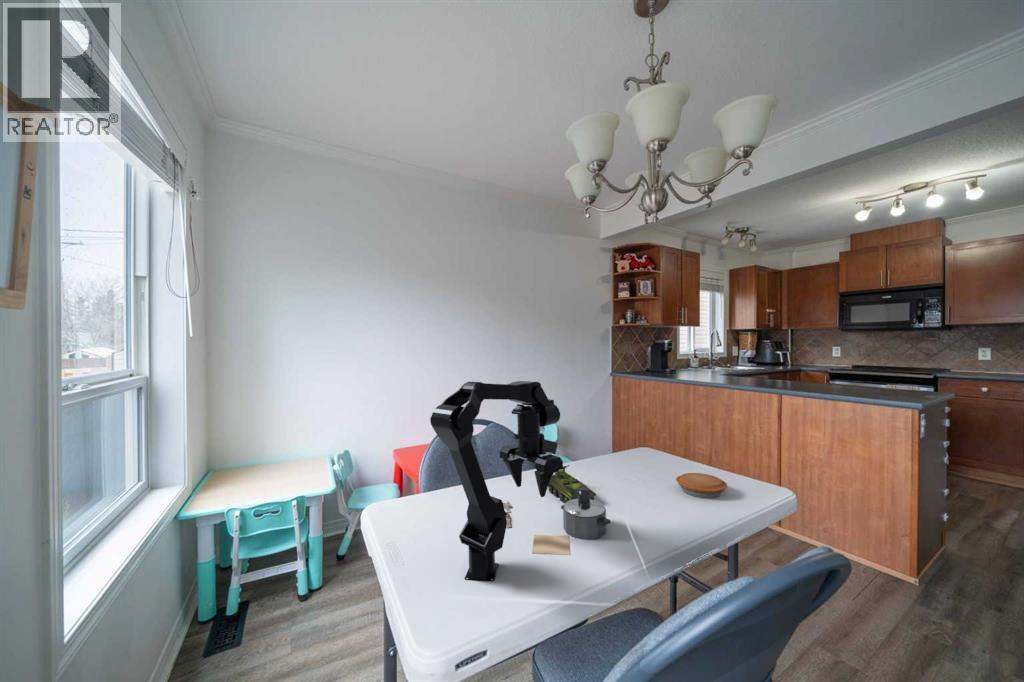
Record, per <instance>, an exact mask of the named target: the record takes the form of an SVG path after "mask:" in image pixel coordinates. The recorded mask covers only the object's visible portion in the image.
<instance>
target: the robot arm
mask: <svg viewBox="0 0 1024 682" xmlns="http://www.w3.org/2000/svg"><path fill="white" fill-rule="evenodd" d="M484 400H507V401H511V402H514V403H517V404H516V406H515V407H514V408H513V409H512V410H511V414H512V415H517V416H516V417H517V433H514V439H517V444H510V445H509V444H508V445H506V446H505V445H504V446H502V447H501V448H500V450H499V458H500V459H502V462H503V463H504V464H505V466H506V468H507V470H508V471H509V473H510V475H511V477H512V479H513V481H514V483H515V485H516V487H517V488H521V486H522V481H523V480H522V479H523V478H522V476H523V463H525V461H527V462H530V463H533V464H534V468H535V470H534V475H535V479H536V485H537V489H538V492H539V496H540V497H541V498H544V497H545V496H546V493H547V490H548V484H549V481H550V479H551V477H552V475H555V472H558V471H559V470H561V469H562V470H563V467H564V461H563V459H562V458H561V457H560V456H557V455H556V453H557V449H558V444H559V443H558V442H556V441H552V440H549V439H545V435H544V433H542V432H541V428H542V427H543V428H544V427H547V426H550V425H551V426H552V425H555V424H557V423H558V422H559V421H560V419H561V411H560V409H559V407H558V406H557V405H556V404H555V402H554V401H555V400H554V399H551V398H550V399H549V398H548V396H547V394H546V392H545V391H544V389H543V387H542V383H540V382H539V381H529V380H525V381H524V380H517V381H513V382H510V383H507V384H502V383H501V384H500V383H487V382H486V383H485V382H481V381H467V382H465V383H463V385H462V386H460V387H459V389H458V390H456V391H455V392H454V393H452V394H450V395H449V396H448V397H446V398H445V399H444V400H443V402H441V403H440V404H439V405H437V406H436V407H435V408H434V410H433V411H432V412H431V413H432V414H431V416H430V425H431V427H432V429H433V430H434V432H435V434H436V435H437V437H438V438H439V439H440V440H441V442H442V443H443V444H444V445H445V446H446V447H447V448H448V450H449V452H450V455H451V458H452V460H453V462H454V464H453V465H454V466H455V469H456V472H457V474H458V476H459V480H460V483H461V485H462V487H463V488H462V489H463V490H464V494H465V496H466V499H467V501H468V506H467V509H466V517H467V518H466V519H467V521H466V522H465V524H464V525H463V528H462V530H461V532H459V533H460V534H459V536H458V537H459V541H460V542H461V544H463V545H466V546H467V547H468V569H467V572H466V574H465V576H464V580H465V581H473V582H476V581H477V582H495V580H496V576H497V573H498V569H499V566H500V564H499V563H496V553H495V552H497V551H499V550H501V549H502V548H503V545H504V541H505V540H504V539H505V535H506V525H507V520H506V515H507V513H506V512H507V511H506V510H505V509H504V506H503V503H504V502H503V500H502V499H500V498H498V497H494V496H492V495H491V494H490V492H489V489H488V486H487V484H486V483H487V482H486V481H485V477H484V473H483V472H482V468H481V465H480V463H479V459H478V457H477V454H476V451H475V449H474V446H473V443H472V439H473V434H474V431H475V430H474V424H473V423H474V421H475V419H476V418H477V417H478V415H479V413H480V411H481V410H480V409H481V406H482V403H483V401H484ZM518 403H519V404H518ZM547 453H550V454H547ZM541 455H542V456H541Z"/></svg>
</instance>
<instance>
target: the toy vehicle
mask: <svg viewBox="0 0 1024 682" xmlns="http://www.w3.org/2000/svg"><path fill="white" fill-rule="evenodd" d="M568 467H570V464H568V465H563V469H560V470H559V471H558V472H555V473H554V474H553V475H552V477H551V479H550V481H549V484H548V487H547V489H548V493H550V494H552V495H553V496H554V497H555V498H558V497H559V500H560V502H562V503H564V504H565V503H566V502H567V501H570V500H573V499H578V488H582V487H584V488H588V489H590V488H589V487H588V486H587V485H586V484H585V483H583V482H581V481H580V480H578V479H577V478H575V477H574V476H572V475H571V474H569V473H567V471H566V469H567V468H568ZM596 496H597V493H596V492H594V491H593V489H590V499H591V500H595V501H596V499H595V497H596Z"/></svg>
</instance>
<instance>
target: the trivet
mask: <svg viewBox="0 0 1024 682" xmlns="http://www.w3.org/2000/svg"><path fill="white" fill-rule="evenodd" d="M570 548H571V547H570V535H556V534H555V535H553V534H552V535H551V534H550V535H549V534H534V535H533V543H532V549H531V550H532V551H531V555H535V554H536V555H556V556H557V555H558V556H559V555H560V556H571V549H570Z"/></svg>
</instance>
